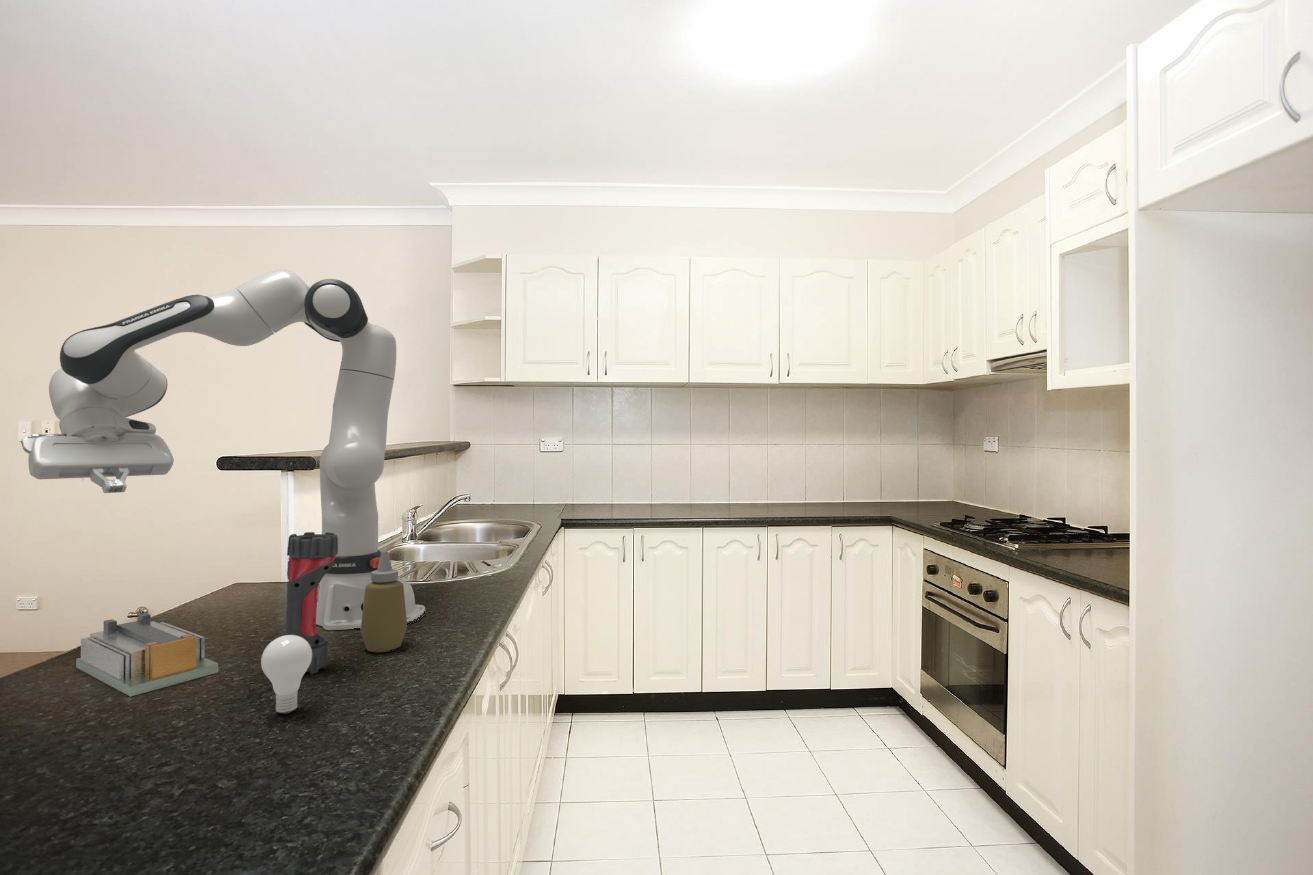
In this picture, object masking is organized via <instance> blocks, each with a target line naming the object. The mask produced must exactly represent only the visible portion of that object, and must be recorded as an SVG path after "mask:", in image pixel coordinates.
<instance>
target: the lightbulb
mask: <svg viewBox="0 0 1313 875" xmlns="http://www.w3.org/2000/svg"><path fill="white" fill-rule="evenodd" d="M284 635H285V634H284ZM284 635H281V636H278V637H276V638H275V639H274V640H272V641H271V642H269V643H268V644H267V645H266V647H265V648H264V650H263V652H262V655H261V658H260V666H261V670H262V671H263V673H264V675H265V676H266V677H267V679H268V680H269V681H270V682H271V685H272V689H273V691H274V694H275V700H276V701H275V703H276V704H275V711H276V712H277V713H280V714H284V715H287V714H290V713H291V712H294V711H295V710H296V709H297V708H298V690H299V689H300V686H301V681H302V678H303V676H304V675H305V673H307V672H306V671H307V669H308V667H309V666H310V663H311V660H312V649H311V646H310V644H309V643H308V642H307V641H306V640H305V639H304V638H302V637H300V636H297V635H285V636H284Z"/></svg>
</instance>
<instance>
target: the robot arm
mask: <svg viewBox="0 0 1313 875" xmlns="http://www.w3.org/2000/svg"><path fill="white" fill-rule="evenodd" d="M295 323H304V324H305V325H306V327H307V326H308V328H310V329H311V330H313V331H314V332H316V333H317V334H318V335H320V336H321V337H322V338H324V339H326V340H328V341H331V342H336V343H337V342H339V343H340V345H341V349H342V354H341V361H340V367H339V370H338V376H337V381H336V388H335V393H334V398H333V403H332V415H331V424H330V433H329V441H328V444H327V445H325V447H324V448H323V450H322V451H321V453H320V456H319V484H320V485H319V488H320V489H319V490H320V506H321V534H325V533H326V532H330V533H334V534H336V535H337V536H338V554H337V555H336V556H335V559H334V560H335V562H334V565H333V566H332V568H331V569H330V570H329V571H328V572H327V573H326V574H325V575H324V576H323V578H322V579H321V581H320V583H319V589H318V590H319V591H318V595H317V598H318V599H317V611H316V612H317V615H316V626H320V627H322V628H323V629H324V630H325V631H336V630H337V631H338V630H355V629H354V628H360V629H361V622H362V614H363V605H364V596H365V588H366V586H367V585H368V584H369V583H371V582H372V581H371V572H372V571H375V570H377V569H378V565H379V561H380V556H381V552H382V551H380V550H379V511H378V505H377V497H376V496H377V493H376V482H377V481H378V480H379V479H380V477H381V476H382V474H383V470H384V466H385V458H386V457H385V455H386V447H387V446H386V445H387V435H388V434H387V433H388V417H389V416H388V415H389V410H390V404H391V399H392V395H393V394H392V392H393V389H394V388H393V387H394V382H395V376H396V368H397V367H396V366H397V340H396V337H395V336H394V335H393V333H392V332H391V331H389V330H388V329H387V328H384V327H382V326H379V325H376V324H372V323H370V322H369V317H368V315H367V313H366V309H365V308H364V305H363V302H362V299H361V297H360V295H359V294H358V292H357V291H356V290H355V289H354V288H353V286H351V285H350V284H348V283H346V282H345V281H343V280H339V279H337V278H327V279H326V278H325V279H321V280H318V281H316V282H314V284H311V286H309V285H308V284H307V283H306V282H305V281H304V280H303V279H302V277H301V276H298V274H296V273H294V272H292V271H290V270H287V269H278V270H275V271H271V272H268V273H266V274H262V275H261V276H258V277H255V278H253V279H250V280H249V281H246V282H244V283H242V284H240V285H238V286H237V287H235V288H233V289H231V290H228V291H225V292H222V293H219V294H213V295H202V294H190V295H186V296H183V297H179V298H176V299H173V300H170V301H168V302H164V303H162V304H160V305H157V306H153V307H151V308H148V309H145V310H143V311H140V312H138V313H135V314H133V315H130V316H128V317H124V318H122V319H120V320H118V321H113V322H111V323H108V324H104V325H99V326H94V327H90V328H87V329H83V330H80V331H78V332H75V333H73V334H71V335H70V336H68V338H66V339H65V340H64V342H63V343H62V346H61V348H60V353H59V364H60V368H59V369H57V370H56V371H55V372H54V373H53V375H52V376H51V377H50V381H49V384H48V393H49V395H48V396H49V399H50V403H51V407H52V410H53V413H54V414H55V417H56V418H57V419H58V420H59V424H58V426H59V430H60V433H49V434H47V433H46V434H42V433H34V434H33V433H32V434H30V435H29V436H25V437H24V438H22V439H21V446H22V450H23V451H24V452H25V453H26V454H28V459H27V460H28V471H29V474H30V476H32V477H33V478H34V479H37V480H58V479H63V480H64V479H84V478H86V479H87V478H89V479H90V481H91V482H92V483H93V484H95V485H97V486H98V487H101V490H102V493H103V494H111V493H112V494H113V493H114V494H115V493H117V494H118V493H125V492H126V490H127V487H128V486H127V484H126V480H127V477H139V476H142V477H143V476H165V475H167V474H169V472H170V471H171V469H172V468H173V465H174V461H175V460H174V459H175V458H174V456H173V454H172V451H171V450H170V448H169V446H168V445H167V443H166V441H165V440H164V438H162V436H160V435H157V434H156V432H157V427H156V426H155V425H154V424H153V423H152V422H147V421H141V420H137V419H131V418H129V417H131V416H133V415H136V414H139V413H142V412H145V411H147V410H149V409H151V408H153V407H155V406H156V405H158V404H159V403H160V402H161V401H162V400H163V398H164V397H165V395H166V392H167V390H168V379H167V377H166V375H165V374H164V373H163V372H161V371H160V370H159V369H158V368H156V366H154V365H153V364H152V363H151V362H150V361H148V360H147V359H145V358H144V357H143V356H141V355H140V354H139V353H137V351H136V350H138V349H141V348H143V347H146V346H149V345H151V344H154V343H157V342H158V341H160V340H163V339H165V338H169V337H170V336H172V335H173V336H174V335H176V334H181V333H195V334H200V335H203V336H206V337H209V338H212V339H215V340H216V341H218V342H221V343H225V344H227V345H230V346H231V345H232V346H236V347H237V346H238V347H249V346H253V345H256V344H258V343H260V342H263V341H264V340H266V339H268V338H270V337H271V336H273V335H275V334H277V333H278V332H279V331H281V330H283V329H284V328H286V327H288V326H290V325H293V324H295ZM111 477H112V478H114V477H115V479H108V478H111ZM397 580H398V581H400V582H401V583H403V587H404V597H405V607H406V617H407V622H409V621H413V620H414V619H417V618H418V617H420V615H422V614H423V613H424V611H425V612H426V607H425V605H423V604H416V599H415V593H414V589H413V587H412V585H411V583H409V582H408V581H406V580H405V579H403V578H402V577H400V576H399V575H398V579H397Z"/></svg>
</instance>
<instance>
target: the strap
mask: <svg viewBox="0 0 1313 875" xmlns="http://www.w3.org/2000/svg"><path fill="white" fill-rule="evenodd" d="M117 631H118V632H121V633H123V634H125V635H128V636H130V637H132V638H134V639H137V640H139V641H141V642H144V643H150V642H156V643H159V644H161V643H165V642H170V641H174V640H178V639H182V638H180V637H177V636H175V635H172V634H170V633H167V632H165V631H162V630H160V629H157V628H155V627H152V626H150V625H147V624H145V623H142V622H140V621H138V620H134V621H130V622H125V623H120V624H119V623H118V624H117Z"/></svg>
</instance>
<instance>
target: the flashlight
mask: <svg viewBox="0 0 1313 875" xmlns="http://www.w3.org/2000/svg"><path fill="white" fill-rule="evenodd" d="M337 554H338V536H337V535H336V534H334V533H330V532H326V533H325V534H322V533H321V534H320V533H319V534H316V533H315V531H307V532H304V533H303V534H299V535H297V533H292V534H290V535H289V536H288V542H287V552H286V556H288V561H287V570H286V572H287V573H286V575H287V586H286V587H287V588H286V614H285V615H286V616H285V634H284V635H283V636H285V635H297V636H300V637H302V638H304V639H305V640H306V641H307V642H308V643H309V644H310V646H311V649H312V660H311V663H310V666H309V667H308V669H307V671H306V672H305V673H309V674H310V675H314V674H317V673H318V672H319V670H320V669H326V668H327V666H328V647H329V641H327V640H326V638H324V637H323V636H321V635H320V634H318V632H317V629H316V626H317V624H316V615H317V612H316V611H317V602H318V596H319V591H318V590H319V587H320V581H321V579H322V578H323V576H324V575H325V574H326V573H327V572H328V571H329V570H330V569H331V568H332V566H333V565H334V562H335V560H334V559H335V556H336V555H337Z"/></svg>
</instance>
